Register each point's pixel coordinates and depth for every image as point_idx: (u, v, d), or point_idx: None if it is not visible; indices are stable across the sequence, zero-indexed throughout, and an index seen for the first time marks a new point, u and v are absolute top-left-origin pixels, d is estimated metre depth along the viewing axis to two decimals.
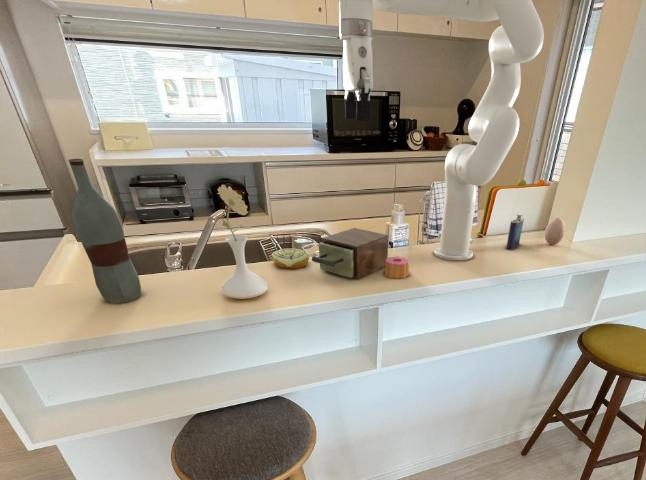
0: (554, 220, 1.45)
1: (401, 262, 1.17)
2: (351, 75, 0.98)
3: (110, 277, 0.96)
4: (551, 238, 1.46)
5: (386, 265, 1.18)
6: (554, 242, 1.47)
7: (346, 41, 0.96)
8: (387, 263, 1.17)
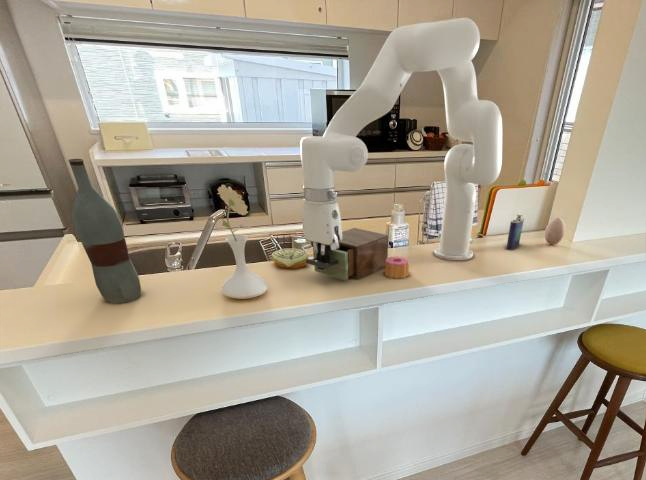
0: (554, 220, 1.45)
1: (401, 262, 1.17)
2: (324, 233, 1.04)
3: (110, 277, 0.96)
4: (551, 238, 1.46)
5: (386, 265, 1.18)
6: (554, 242, 1.47)
7: (314, 204, 1.02)
8: (387, 263, 1.17)
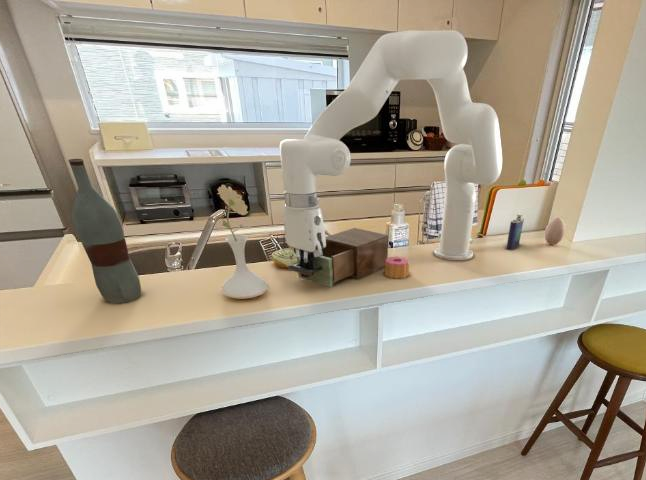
0: (554, 220, 1.45)
1: (401, 262, 1.17)
2: (306, 239, 1.00)
3: (110, 277, 0.96)
4: (551, 238, 1.46)
5: (386, 265, 1.18)
6: (554, 242, 1.47)
7: (295, 210, 0.97)
8: (387, 263, 1.17)
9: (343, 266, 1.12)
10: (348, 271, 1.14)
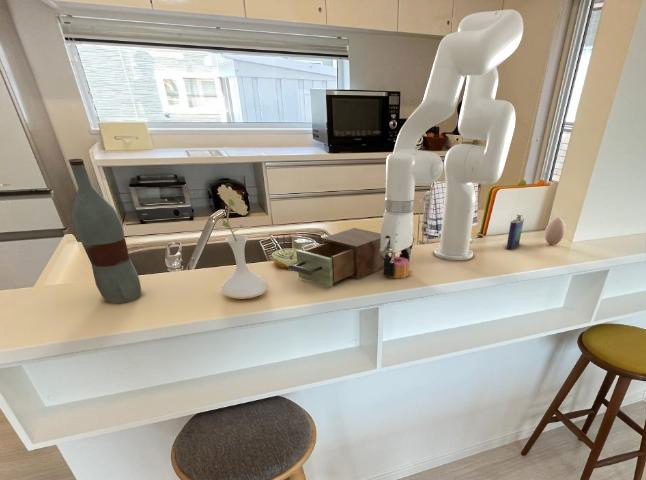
0: (554, 220, 1.45)
1: (401, 262, 1.17)
2: (410, 237, 1.16)
3: (110, 277, 0.96)
4: (551, 238, 1.46)
5: None
6: (554, 242, 1.47)
7: (407, 214, 1.10)
8: None
9: (343, 266, 1.12)
10: (348, 271, 1.14)
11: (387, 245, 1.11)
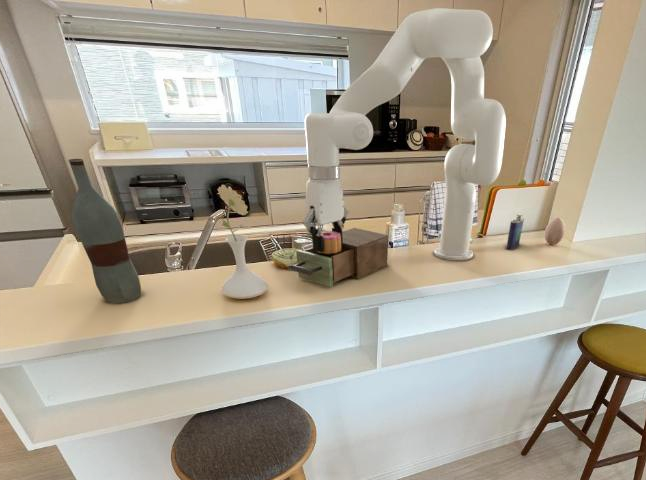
0: (554, 220, 1.45)
1: (331, 236, 1.08)
2: (340, 208, 1.07)
3: (110, 277, 0.96)
4: (551, 238, 1.46)
5: None
6: (554, 242, 1.47)
7: (333, 182, 1.01)
8: None
9: (343, 266, 1.12)
10: (348, 271, 1.14)
11: (311, 216, 1.02)
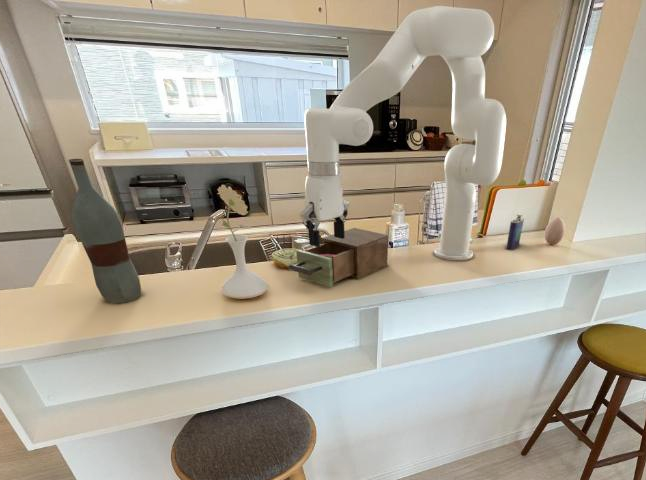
0: (554, 220, 1.45)
1: None
2: (340, 205, 1.06)
3: (110, 277, 0.96)
4: (551, 238, 1.46)
5: None
6: (554, 242, 1.47)
7: (333, 178, 1.01)
8: None
9: (343, 266, 1.12)
10: (348, 271, 1.14)
11: (311, 208, 1.01)
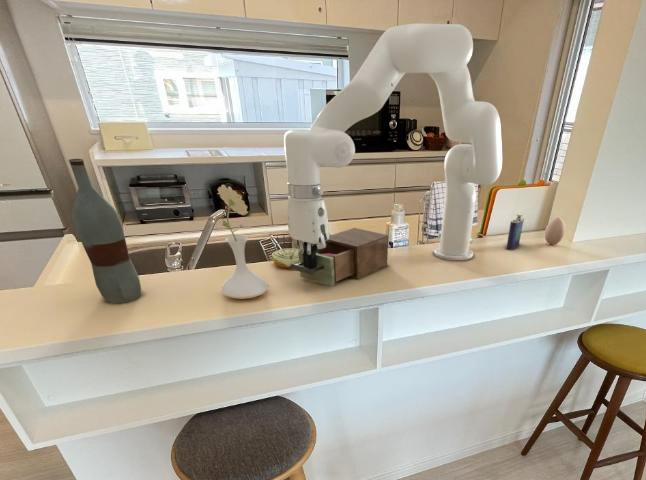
0: (554, 220, 1.45)
1: None
2: (310, 231, 1.00)
3: (110, 277, 0.96)
4: (551, 238, 1.46)
5: None
6: (554, 242, 1.47)
7: (299, 201, 0.97)
8: None
9: (345, 265, 1.12)
10: (350, 270, 1.15)
11: None
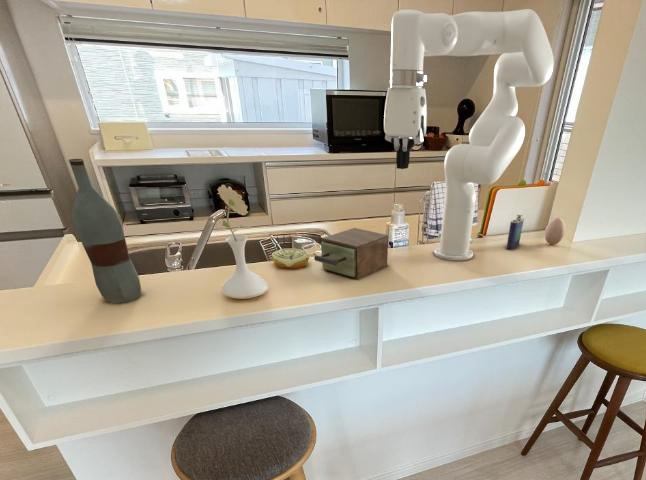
0: (554, 220, 1.45)
1: None
2: (409, 123, 0.99)
3: (110, 277, 0.96)
4: (551, 238, 1.46)
5: None
6: (554, 242, 1.47)
7: (401, 90, 0.97)
8: None
9: None
10: None
11: (386, 134, 1.06)
